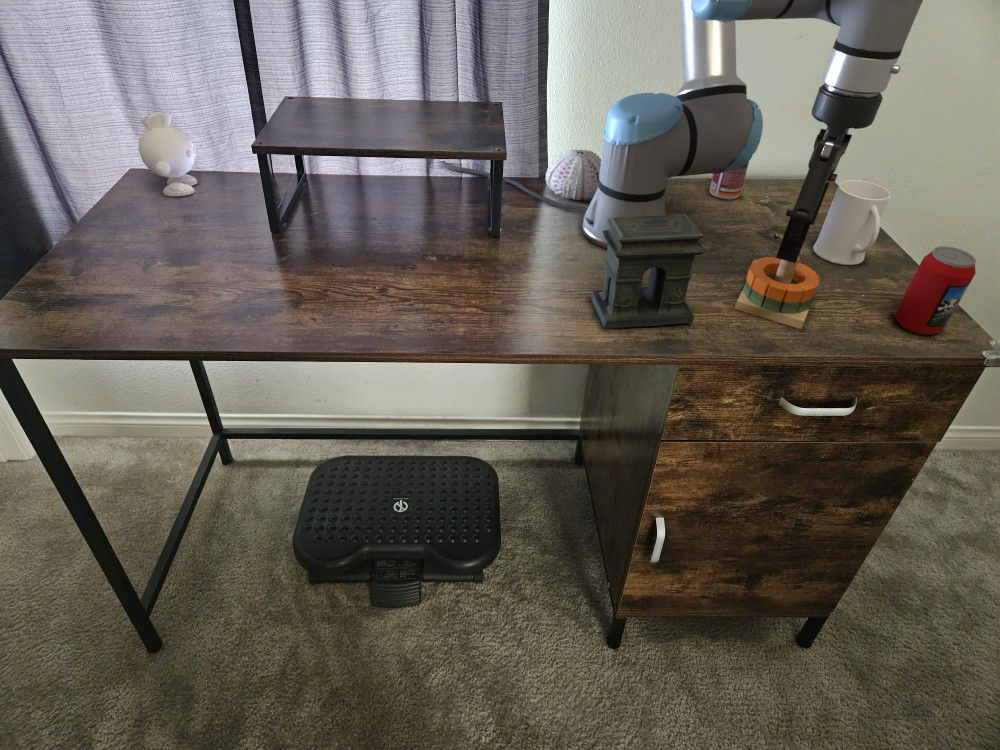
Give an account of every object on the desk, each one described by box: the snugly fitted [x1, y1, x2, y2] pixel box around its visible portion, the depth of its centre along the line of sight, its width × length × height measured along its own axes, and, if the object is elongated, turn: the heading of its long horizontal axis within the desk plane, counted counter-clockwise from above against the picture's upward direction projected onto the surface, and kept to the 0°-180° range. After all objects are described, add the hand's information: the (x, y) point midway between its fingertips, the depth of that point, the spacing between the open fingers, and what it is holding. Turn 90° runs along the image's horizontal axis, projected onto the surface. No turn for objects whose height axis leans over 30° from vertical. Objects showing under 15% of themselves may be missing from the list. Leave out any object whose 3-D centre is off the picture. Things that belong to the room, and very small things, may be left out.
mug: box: [812, 179, 892, 266], centre depth 110 cm, size 12×8×12 cm
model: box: [590, 213, 707, 329], centre depth 94 cm, size 14×9×15 cm, turn 99°
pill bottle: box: [709, 161, 750, 200], centre depth 130 cm, size 6×6×11 cm
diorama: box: [773, 227, 783, 241], centre depth 119 cm, size 3×4×2 cm
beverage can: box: [894, 245, 977, 336], centre depth 95 cm, size 7×7×12 cm
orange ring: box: [745, 256, 821, 302], centre depth 99 cm, size 10×10×2 cm
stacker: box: [734, 255, 817, 330], centre depth 99 cm, size 10×10×8 cm
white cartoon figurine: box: [138, 109, 198, 197], centre depth 121 cm, size 15×10×15 cm, turn 13°
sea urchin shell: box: [545, 149, 602, 201], centre depth 130 cm, size 13×14×8 cm
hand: (795, 239), depth 95 cm, fingers open, 13 cm apart
